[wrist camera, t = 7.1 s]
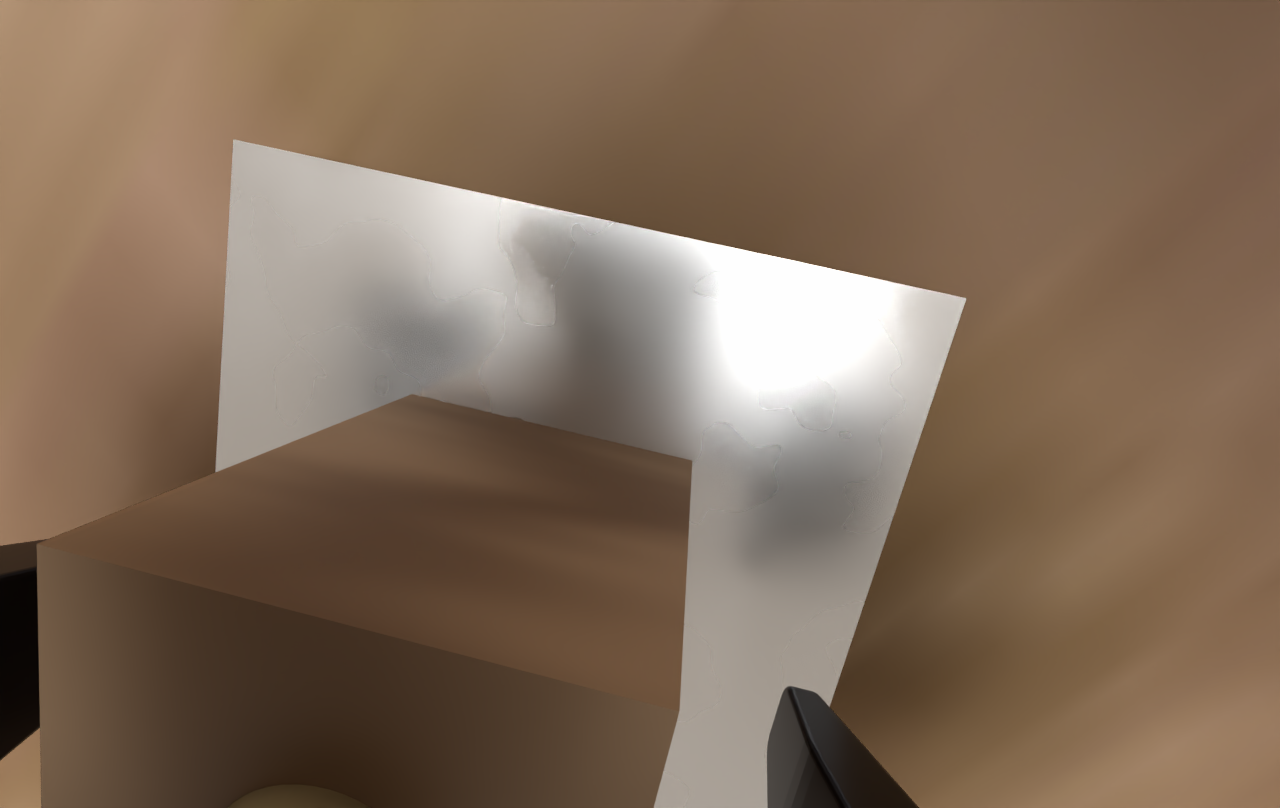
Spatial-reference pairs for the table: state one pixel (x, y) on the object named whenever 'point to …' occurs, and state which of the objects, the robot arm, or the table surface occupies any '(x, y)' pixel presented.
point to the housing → (375, 625)
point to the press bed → (607, 396)
